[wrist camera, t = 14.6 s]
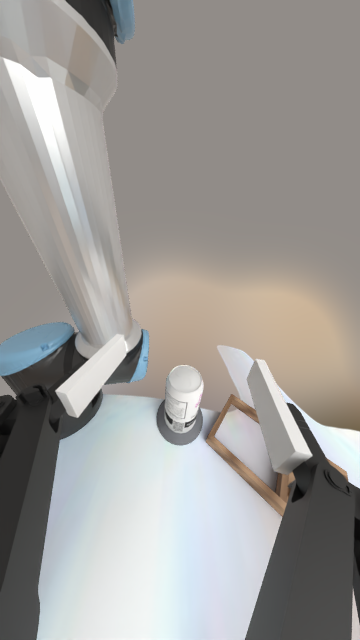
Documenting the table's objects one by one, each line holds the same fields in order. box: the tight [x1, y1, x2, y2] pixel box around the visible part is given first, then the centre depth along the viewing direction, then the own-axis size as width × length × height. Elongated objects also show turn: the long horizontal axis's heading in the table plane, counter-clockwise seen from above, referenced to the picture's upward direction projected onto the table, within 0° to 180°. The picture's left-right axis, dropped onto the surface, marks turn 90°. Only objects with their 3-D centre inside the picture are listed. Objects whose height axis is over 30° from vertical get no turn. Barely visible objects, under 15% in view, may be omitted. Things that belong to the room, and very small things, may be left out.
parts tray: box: [206, 394, 348, 517], centre depth 30 cm, size 24×14×3 cm, turn 49°
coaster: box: [157, 400, 203, 445], centre depth 36 cm, size 12×12×1 cm
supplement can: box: [164, 365, 204, 434], centre depth 33 cm, size 8×8×15 cm
